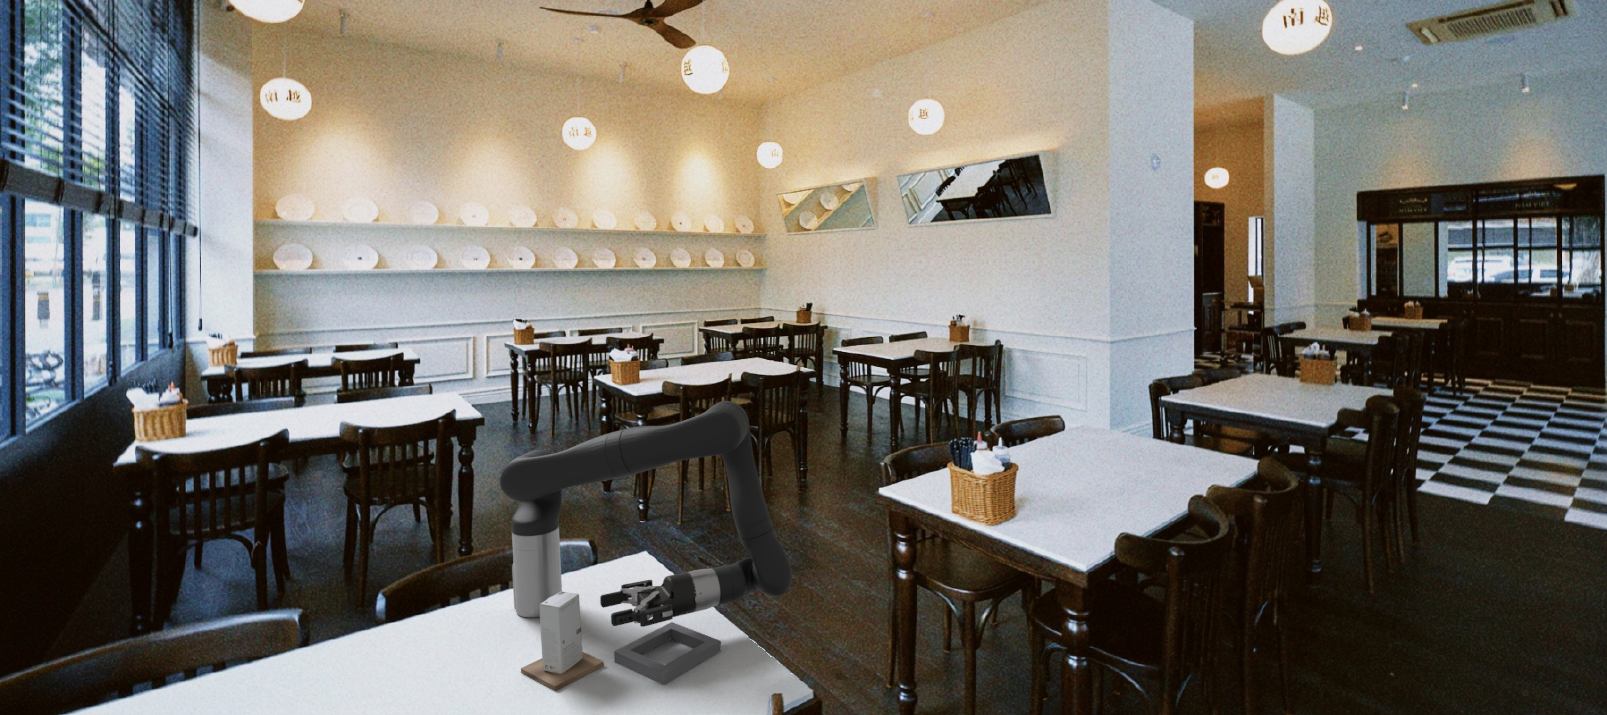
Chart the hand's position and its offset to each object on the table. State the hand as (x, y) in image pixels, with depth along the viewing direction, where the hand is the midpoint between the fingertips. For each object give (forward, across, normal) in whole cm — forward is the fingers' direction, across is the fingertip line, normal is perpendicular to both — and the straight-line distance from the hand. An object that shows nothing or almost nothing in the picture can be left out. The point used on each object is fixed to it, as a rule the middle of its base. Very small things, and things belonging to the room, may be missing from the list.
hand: (606, 610), depth 133 cm
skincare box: (+8, 0, +8) cm, 12 cm away
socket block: (-10, +5, +9) cm, 14 cm away
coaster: (+8, 0, +9) cm, 12 cm away
